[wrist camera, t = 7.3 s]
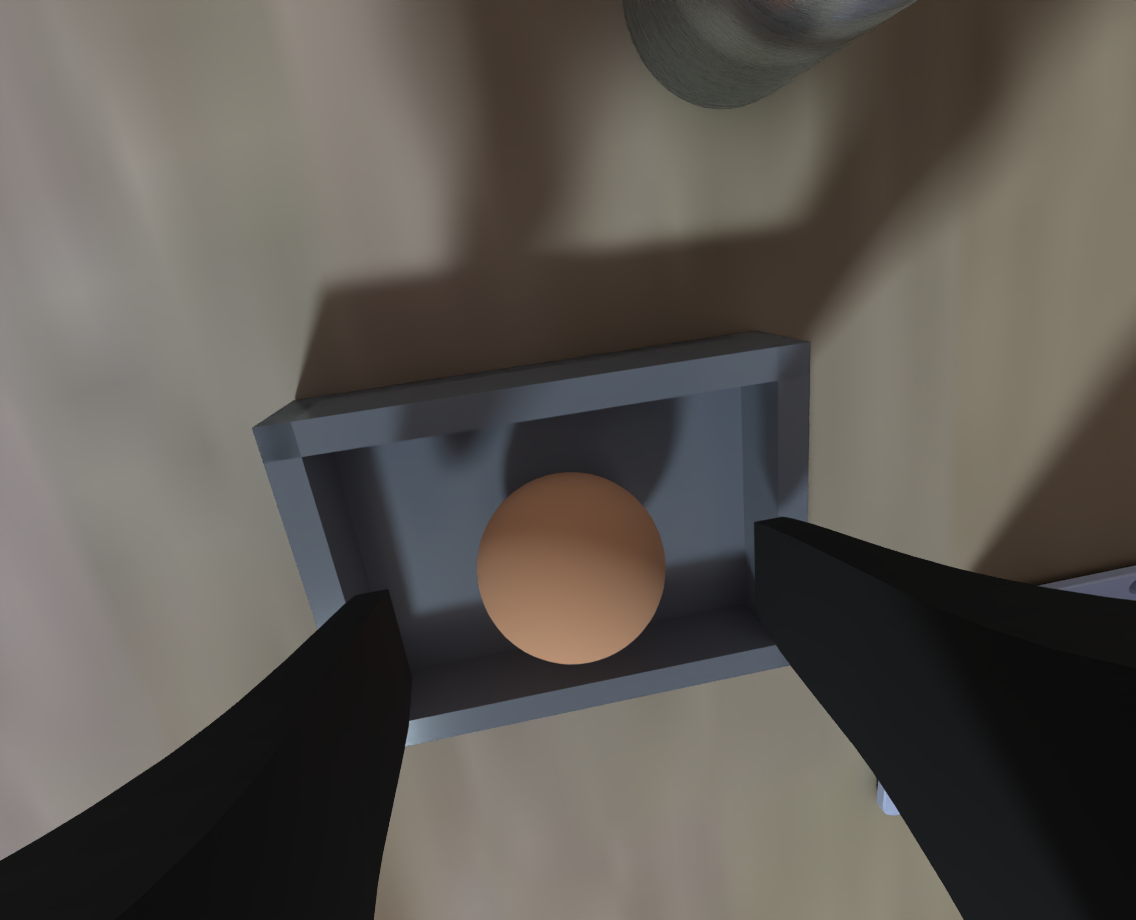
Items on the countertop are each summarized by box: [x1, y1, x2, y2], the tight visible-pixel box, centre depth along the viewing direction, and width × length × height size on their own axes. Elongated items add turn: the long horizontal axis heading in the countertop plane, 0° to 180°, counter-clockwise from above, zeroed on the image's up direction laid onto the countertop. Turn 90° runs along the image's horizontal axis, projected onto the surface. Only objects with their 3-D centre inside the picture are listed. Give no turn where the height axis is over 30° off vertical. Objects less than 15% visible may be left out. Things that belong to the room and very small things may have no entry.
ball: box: [477, 472, 666, 664], centre depth 12 cm, size 4×4×4 cm
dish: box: [252, 331, 810, 746], centre depth 13 cm, size 11×8×2 cm
